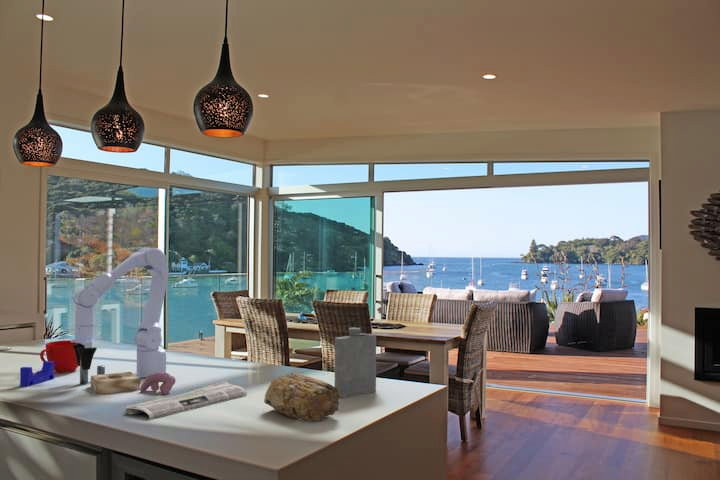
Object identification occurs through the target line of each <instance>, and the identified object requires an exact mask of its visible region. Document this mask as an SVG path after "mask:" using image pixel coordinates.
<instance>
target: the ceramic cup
mask: <svg viewBox="0 0 720 480" xmlns="http://www.w3.org/2000/svg"><path fill="white" fill-rule="evenodd" d="M71 340H72V339H69V340H55V341H50V342H46V343H45V345H44V346H45V348H44V349H42V350H41V351H40V354H39V357H40V360H41V361H42V363H43V362H45V361H53V362H54V373H72V372H75V371H76V370H77V369H78V367H79V366H78V364H77V359H76V354H75V351H74V349H73V347H72V345H74V344H77V343H75V342H71ZM44 355H45V356H46V359H45V357H44Z"/></svg>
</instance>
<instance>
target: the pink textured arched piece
mask: <svg viewBox="0 0 720 480" xmlns="http://www.w3.org/2000/svg"><path fill="white" fill-rule="evenodd" d="M159 383H161V384H159ZM175 384H176V378H175V376H173V375H171V374H170V373H167V372H166V373H164V372H157V373H151V374H150V375H148V376H147V377H145V379H144V381H143V382H142V384H140V389H139V392H140V393H144V392H146V391H147V390H148V389H151V391H154V392H157V391H158V390H159V391H160V392H162V393H163V395H168V394H169V393H170V392H171V390H172V389H173V386H175Z"/></svg>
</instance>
